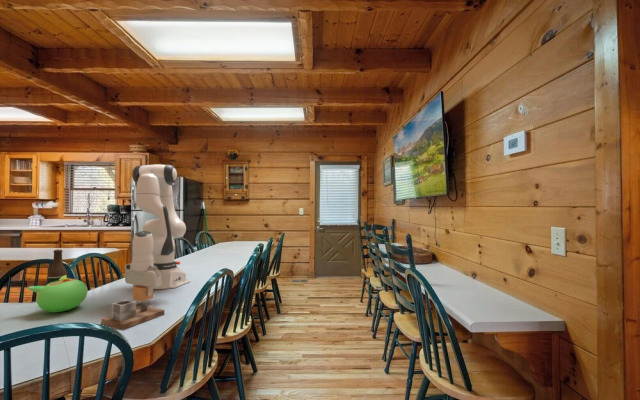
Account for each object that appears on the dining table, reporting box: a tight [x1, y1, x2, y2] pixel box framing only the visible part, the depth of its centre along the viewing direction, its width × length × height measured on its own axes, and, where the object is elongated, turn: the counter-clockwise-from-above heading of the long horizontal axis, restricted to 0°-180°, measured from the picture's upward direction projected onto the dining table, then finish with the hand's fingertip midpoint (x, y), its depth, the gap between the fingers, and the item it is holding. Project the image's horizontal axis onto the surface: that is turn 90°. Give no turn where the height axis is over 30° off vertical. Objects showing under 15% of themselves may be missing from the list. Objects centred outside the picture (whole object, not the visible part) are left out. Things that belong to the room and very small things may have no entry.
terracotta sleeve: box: [132, 285, 154, 302], centre depth 149 cm, size 6×6×6 cm
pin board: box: [100, 299, 165, 330], centre depth 130 cm, size 18×14×8 cm
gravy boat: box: [27, 275, 88, 313], centre depth 139 cm, size 18×17×15 cm
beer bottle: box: [47, 249, 68, 284], centre depth 158 cm, size 8×8×24 cm
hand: (143, 294), depth 149 cm, fingers closed on terracotta sleeve, 6 cm apart
